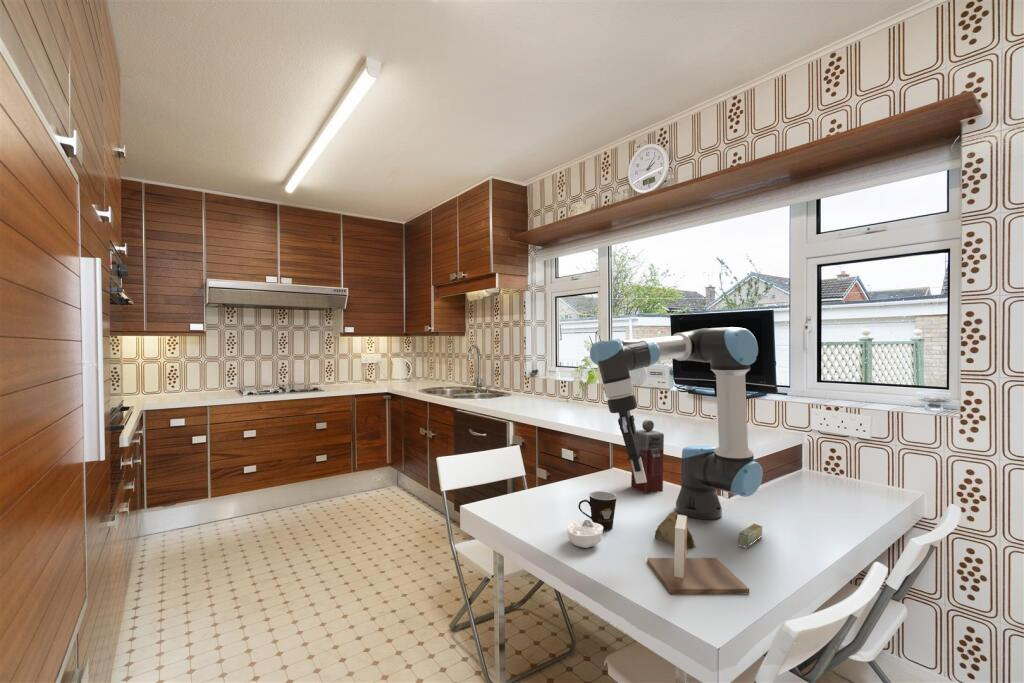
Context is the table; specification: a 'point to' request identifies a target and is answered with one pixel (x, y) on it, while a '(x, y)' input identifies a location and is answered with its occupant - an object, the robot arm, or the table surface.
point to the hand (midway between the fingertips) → (641, 482)
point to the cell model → (585, 533)
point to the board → (697, 577)
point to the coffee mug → (601, 508)
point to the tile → (680, 546)
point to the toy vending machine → (650, 458)
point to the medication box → (749, 535)
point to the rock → (671, 531)
